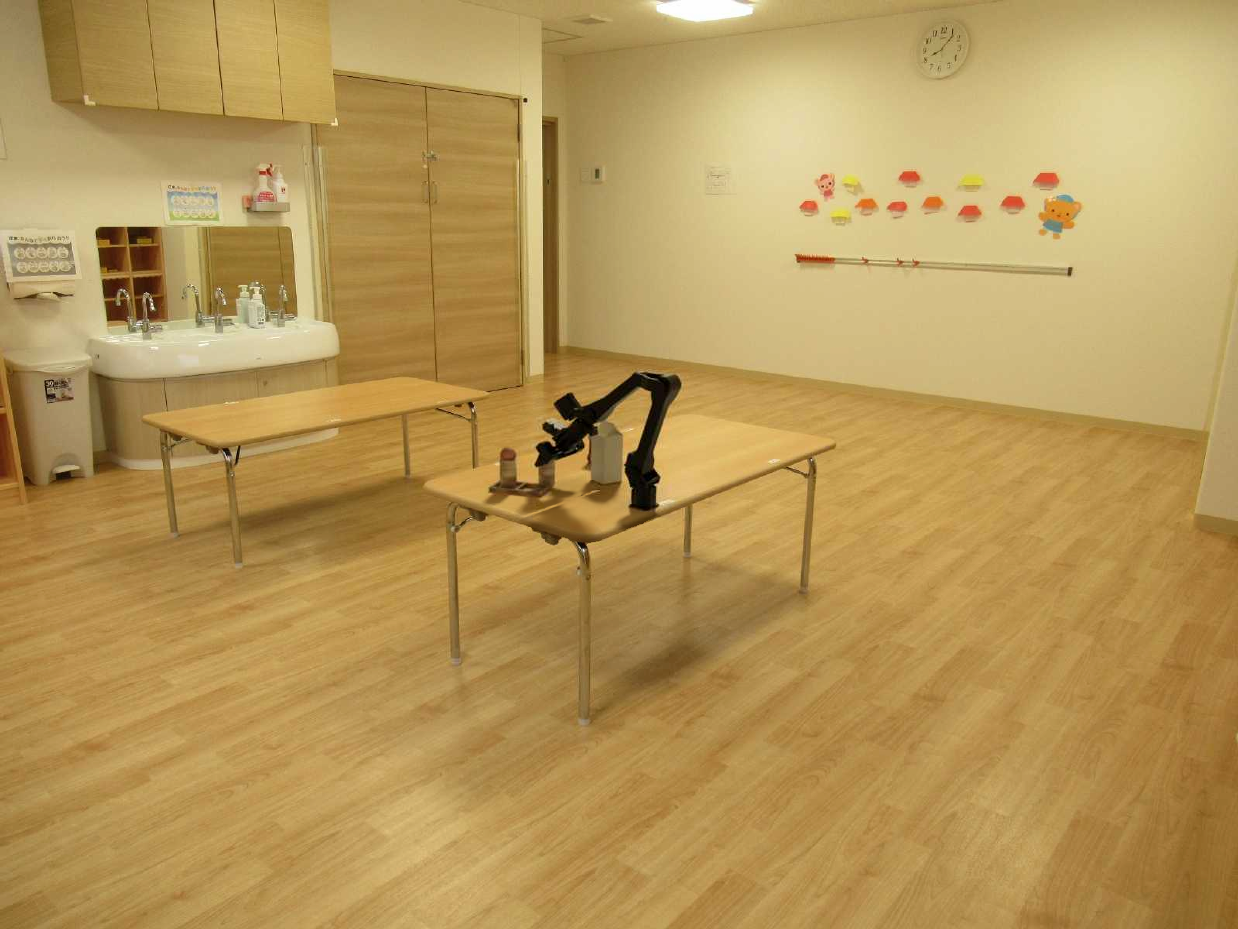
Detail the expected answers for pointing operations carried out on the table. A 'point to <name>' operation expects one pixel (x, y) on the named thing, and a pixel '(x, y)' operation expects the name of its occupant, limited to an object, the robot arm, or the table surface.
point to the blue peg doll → (547, 474)
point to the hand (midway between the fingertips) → (544, 462)
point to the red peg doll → (508, 468)
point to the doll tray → (523, 489)
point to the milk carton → (607, 454)
